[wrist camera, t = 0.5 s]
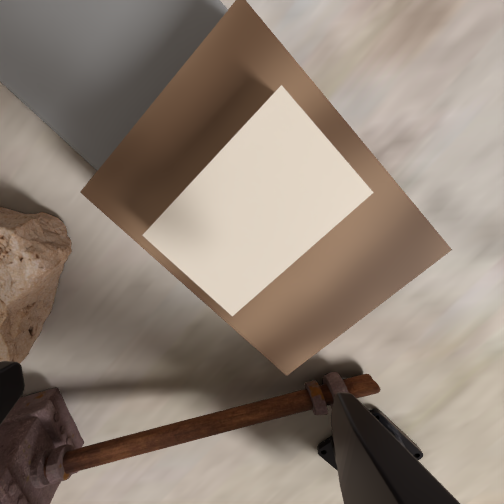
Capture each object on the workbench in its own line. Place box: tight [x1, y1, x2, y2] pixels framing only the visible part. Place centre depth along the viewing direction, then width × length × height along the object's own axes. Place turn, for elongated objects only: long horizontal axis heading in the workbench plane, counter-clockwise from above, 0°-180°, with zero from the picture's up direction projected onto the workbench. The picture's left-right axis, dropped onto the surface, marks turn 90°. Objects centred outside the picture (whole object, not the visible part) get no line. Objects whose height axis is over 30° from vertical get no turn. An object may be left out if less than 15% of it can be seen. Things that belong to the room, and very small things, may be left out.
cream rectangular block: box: [142, 85, 374, 316], centre depth 14 cm, size 6×9×2 cm, turn 135°
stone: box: [0, 207, 72, 363], centre depth 19 cm, size 9×11×5 cm
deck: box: [81, 0, 452, 376], centre depth 18 cm, size 16×12×4 cm
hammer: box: [0, 372, 380, 504], centre depth 22 cm, size 7×33×10 cm, turn 102°
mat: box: [0, 0, 228, 171], centre depth 17 cm, size 10×12×1 cm
